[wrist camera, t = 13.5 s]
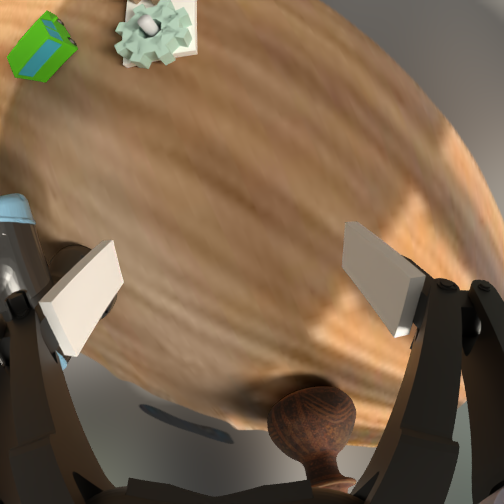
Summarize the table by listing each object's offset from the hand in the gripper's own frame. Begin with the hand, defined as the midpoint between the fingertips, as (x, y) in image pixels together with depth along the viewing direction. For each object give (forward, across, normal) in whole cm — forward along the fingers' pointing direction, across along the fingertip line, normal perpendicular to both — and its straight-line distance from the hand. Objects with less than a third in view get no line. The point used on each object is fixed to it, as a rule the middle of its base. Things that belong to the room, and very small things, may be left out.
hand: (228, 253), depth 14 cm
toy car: (+27, -31, +31) cm, 51 cm away
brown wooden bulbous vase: (+27, +14, -54) cm, 62 cm away
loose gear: (+25, -10, +24) cm, 36 cm away
